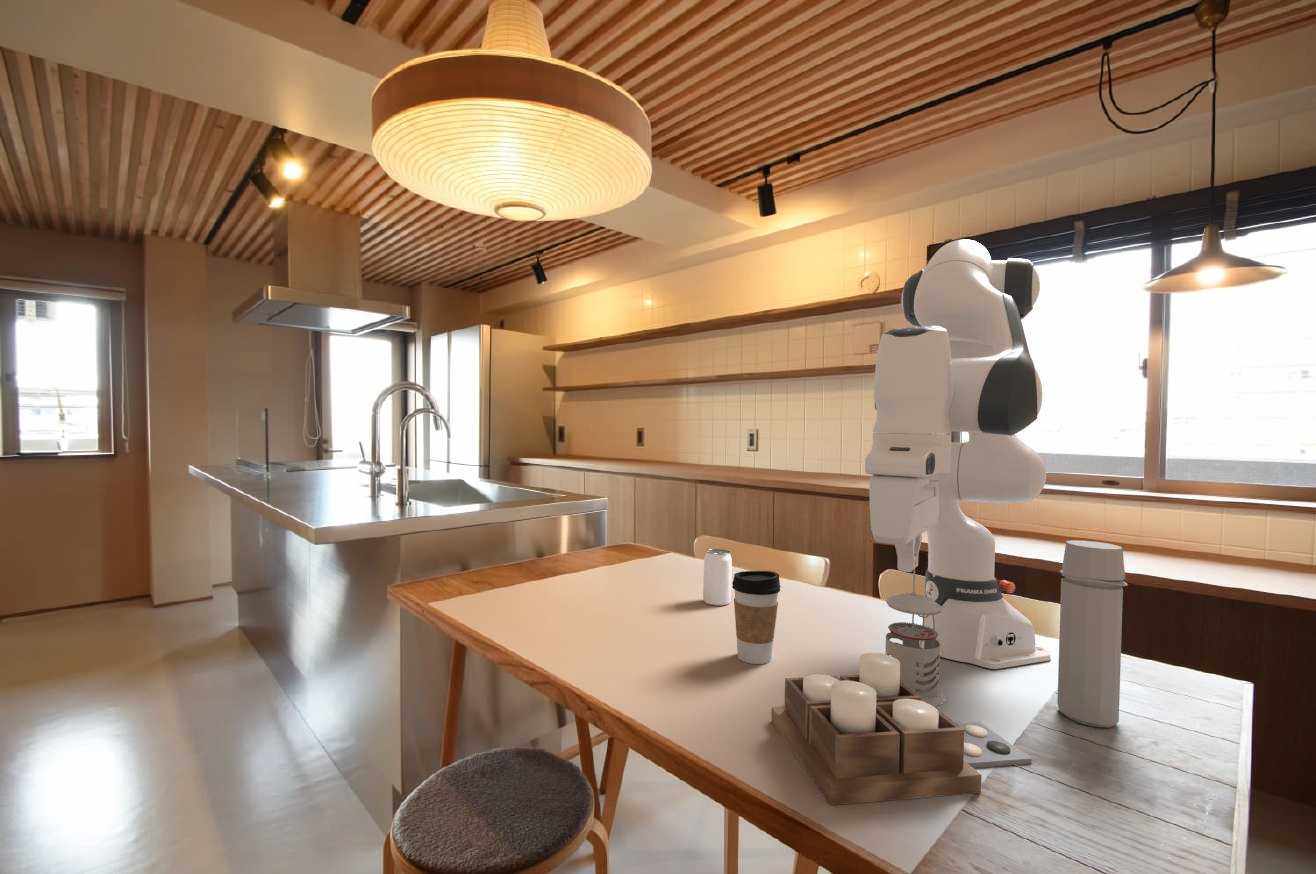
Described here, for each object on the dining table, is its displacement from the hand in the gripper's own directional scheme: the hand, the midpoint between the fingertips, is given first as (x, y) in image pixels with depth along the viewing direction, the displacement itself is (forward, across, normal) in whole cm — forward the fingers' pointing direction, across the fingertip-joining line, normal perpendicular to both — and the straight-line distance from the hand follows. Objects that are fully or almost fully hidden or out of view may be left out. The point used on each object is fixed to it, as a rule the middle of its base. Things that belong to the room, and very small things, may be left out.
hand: (907, 569), depth 71 cm
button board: (+23, +2, -4) cm, 24 cm away
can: (+24, -42, -50) cm, 70 cm away
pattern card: (+24, -8, +7) cm, 26 cm away
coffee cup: (+24, -17, -29) cm, 41 cm away
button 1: (+21, +2, -10) cm, 23 cm away
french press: (+24, -21, -3) cm, 32 cm away
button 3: (+19, -4, -4) cm, 19 cm away
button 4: (+21, +2, +2) cm, 21 cm away
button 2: (+18, +8, -4) cm, 20 cm away
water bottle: (+24, -28, +20) cm, 42 cm away
